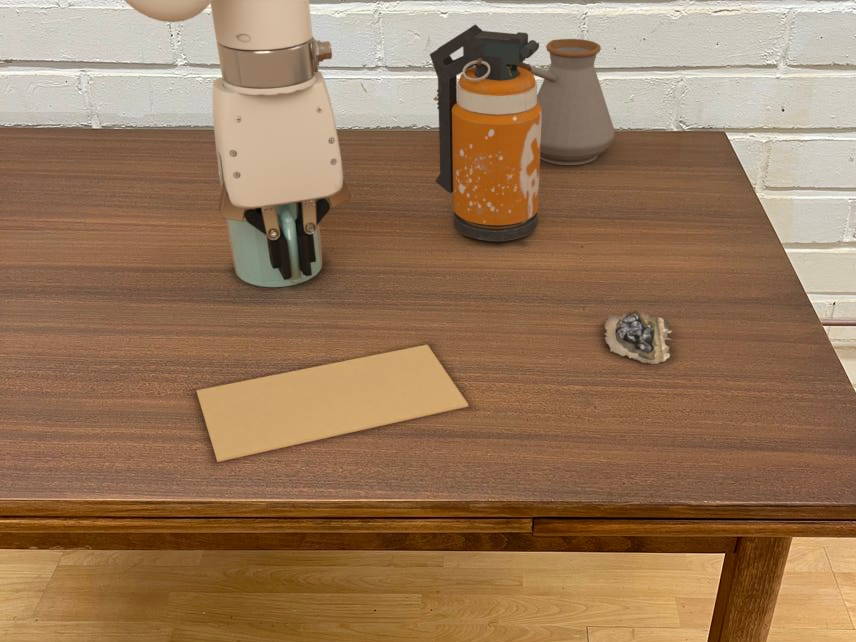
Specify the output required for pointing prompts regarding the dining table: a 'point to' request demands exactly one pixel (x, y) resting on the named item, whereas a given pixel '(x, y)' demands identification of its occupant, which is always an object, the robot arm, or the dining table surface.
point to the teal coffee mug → (254, 250)
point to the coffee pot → (572, 104)
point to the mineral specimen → (638, 336)
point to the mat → (326, 401)
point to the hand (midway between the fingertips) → (294, 270)
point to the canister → (489, 133)
